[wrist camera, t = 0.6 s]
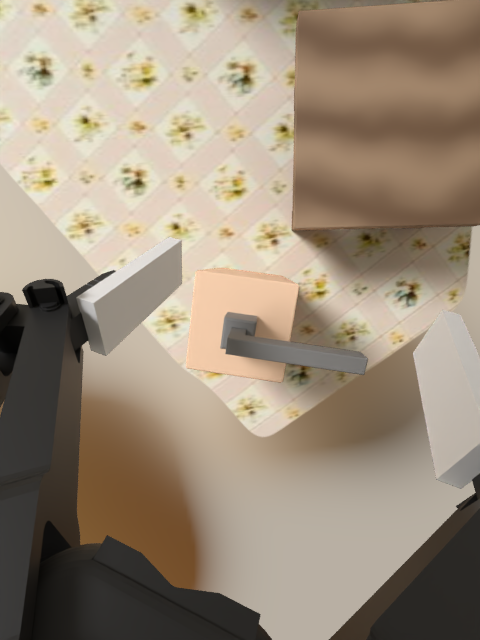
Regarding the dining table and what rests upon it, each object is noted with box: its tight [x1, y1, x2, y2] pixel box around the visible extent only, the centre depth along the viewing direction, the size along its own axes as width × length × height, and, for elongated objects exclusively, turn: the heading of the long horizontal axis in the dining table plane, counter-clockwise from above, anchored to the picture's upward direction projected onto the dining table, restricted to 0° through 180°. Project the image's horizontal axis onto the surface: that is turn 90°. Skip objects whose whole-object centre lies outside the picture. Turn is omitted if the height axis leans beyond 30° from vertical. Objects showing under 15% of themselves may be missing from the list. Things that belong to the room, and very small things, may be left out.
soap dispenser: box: [186, 268, 368, 383], centre depth 30 cm, size 13×9×22 cm
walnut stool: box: [292, 0, 480, 231], centre depth 31 cm, size 18×18×10 cm
